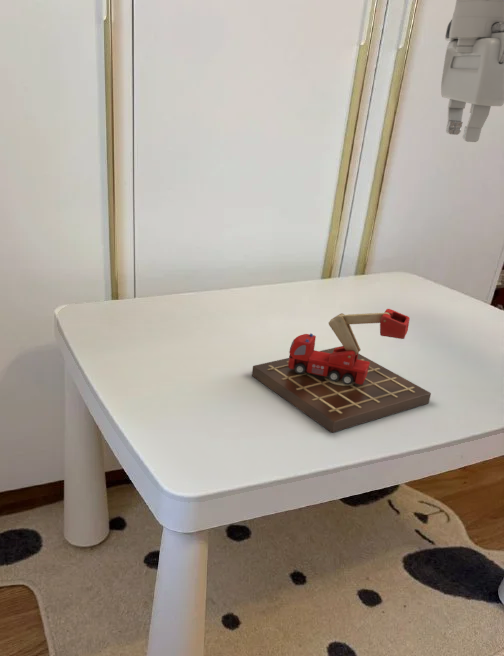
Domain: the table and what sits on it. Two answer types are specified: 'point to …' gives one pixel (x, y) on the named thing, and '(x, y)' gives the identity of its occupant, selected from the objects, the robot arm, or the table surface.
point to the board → (342, 393)
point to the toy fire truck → (344, 347)
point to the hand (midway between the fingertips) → (460, 137)
